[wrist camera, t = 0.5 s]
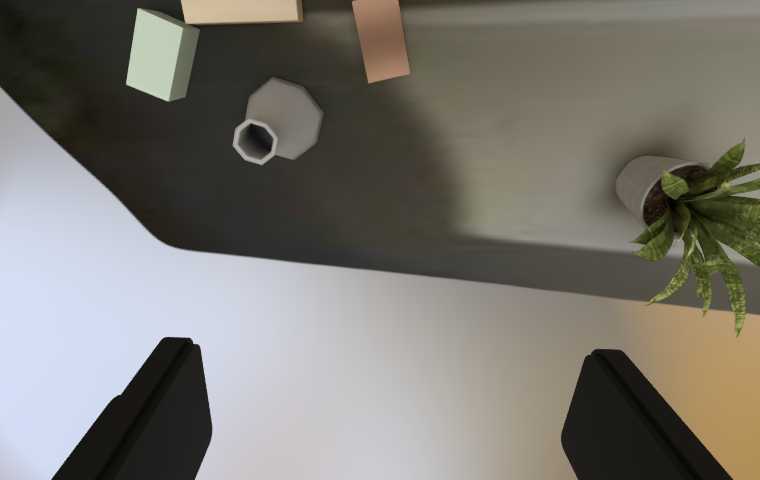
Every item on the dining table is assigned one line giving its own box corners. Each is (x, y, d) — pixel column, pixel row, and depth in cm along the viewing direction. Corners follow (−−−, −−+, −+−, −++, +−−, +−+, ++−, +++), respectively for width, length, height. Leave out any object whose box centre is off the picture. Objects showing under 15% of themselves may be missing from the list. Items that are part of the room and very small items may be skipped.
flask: (231, 128, 39) (187, 153, 30) (269, 60, 37) (233, 66, 28) (297, 172, 41) (274, 208, 32) (338, 110, 39) (325, 130, 30)
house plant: (603, 278, 46) (707, 389, 31) (534, 188, 42) (618, 268, 27) (730, 197, 42) (921, 280, 27) (669, 88, 38) (856, 116, 23)
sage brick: (159, 11, 35) (137, 8, 32) (200, 29, 36) (183, 28, 33) (147, 80, 38) (126, 84, 34) (186, 96, 38) (168, 101, 35)
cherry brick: (354, 5, 35) (351, 1, 32) (395, -5, 35) (396, -10, 32) (369, 79, 38) (368, 83, 34) (407, 71, 37) (410, 74, 34)
